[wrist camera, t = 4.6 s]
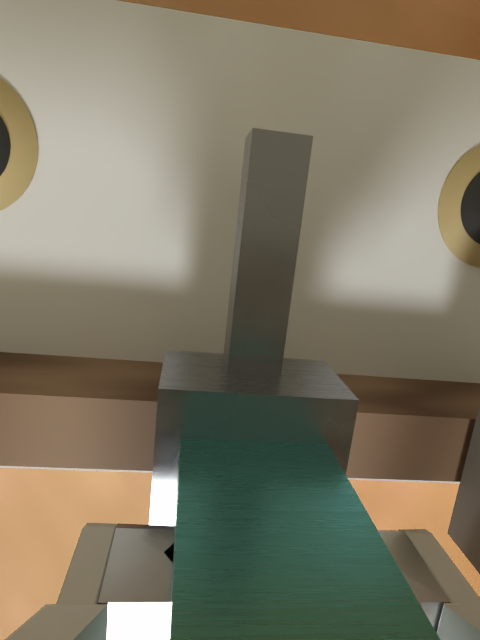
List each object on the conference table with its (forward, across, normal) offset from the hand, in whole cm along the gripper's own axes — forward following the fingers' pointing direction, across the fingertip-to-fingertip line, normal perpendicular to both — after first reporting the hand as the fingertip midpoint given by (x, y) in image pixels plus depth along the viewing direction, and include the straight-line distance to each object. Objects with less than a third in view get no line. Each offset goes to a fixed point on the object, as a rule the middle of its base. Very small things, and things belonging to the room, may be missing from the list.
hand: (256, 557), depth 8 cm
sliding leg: (+6, 0, -3) cm, 7 cm away
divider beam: (+7, +1, -2) cm, 8 cm away
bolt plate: (+9, +1, -4) cm, 10 cm away
